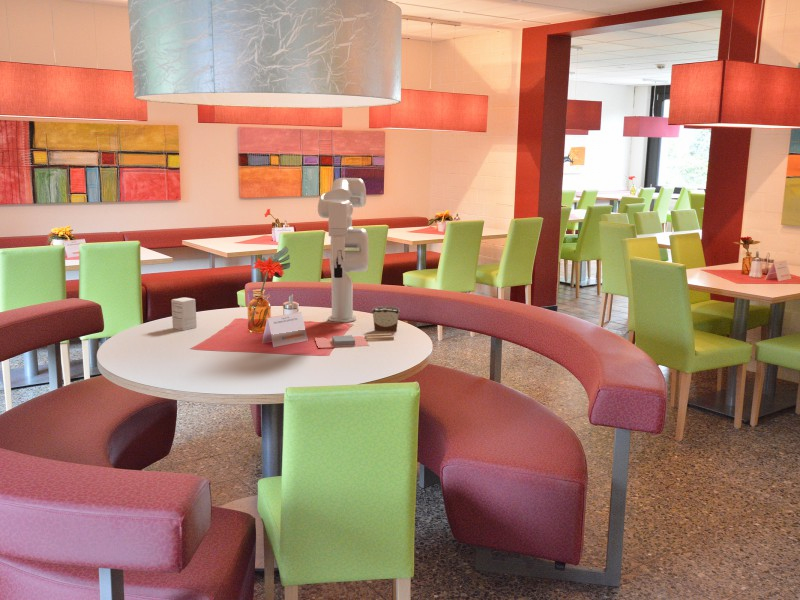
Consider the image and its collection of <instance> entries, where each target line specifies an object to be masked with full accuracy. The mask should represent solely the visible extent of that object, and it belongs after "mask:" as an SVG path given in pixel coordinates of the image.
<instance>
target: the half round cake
mask: <svg viewBox="0 0 800 600" xmlns="http://www.w3.org/2000/svg"><path fill="white" fill-rule="evenodd" d="M371 314H372V315H373V316H372V318H373V327H374V332H376V331H377V332H378V331H379V332H398V323H399V315H400V314H401V311H400V308H399V307H396V306H386V305H385V306H384V305H383V306H375V307H372V309H371Z"/></svg>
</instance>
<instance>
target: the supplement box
mask: <svg viewBox="0 0 800 600" xmlns="http://www.w3.org/2000/svg"><path fill="white" fill-rule="evenodd" d="M170 302H171V317H172V318H171V319H172V328H173V329H175V330H179V331H187V330H191V329H195V328H197V307H196V304H197V303H196V299H195V298H191V297H186V296H185V297H179V298H173V299H171V301H170Z"/></svg>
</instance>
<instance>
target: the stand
mask: <svg viewBox="0 0 800 600" xmlns="http://www.w3.org/2000/svg"><path fill="white" fill-rule="evenodd" d="M394 337H395V336H393V333H374V334H372V333H371V334H364V339H365V340H366V342H379V341H380V342H381V341H394V340H395V338H394Z"/></svg>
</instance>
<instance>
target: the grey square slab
mask: <svg viewBox="0 0 800 600" xmlns="http://www.w3.org/2000/svg"><path fill="white" fill-rule="evenodd" d="M331 337H332V341H333V343H334V345H335V346H353V347H355V346H354V345H355V340H354V338H353V335H351V334H349V335H332V336H331Z"/></svg>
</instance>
